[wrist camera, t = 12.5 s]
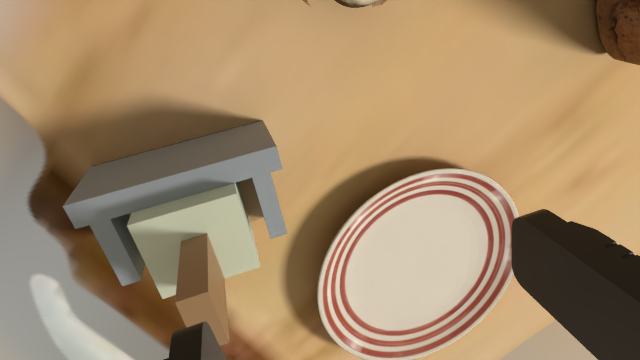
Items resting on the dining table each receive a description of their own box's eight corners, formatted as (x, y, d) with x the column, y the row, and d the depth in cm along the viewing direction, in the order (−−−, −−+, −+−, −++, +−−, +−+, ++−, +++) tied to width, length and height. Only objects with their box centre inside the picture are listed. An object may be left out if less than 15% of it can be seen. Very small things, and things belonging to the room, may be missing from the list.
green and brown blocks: (138, 191, 34) (105, 287, 22) (231, 165, 35) (245, 242, 23) (168, 256, 37) (152, 370, 25) (252, 230, 38) (273, 327, 26)
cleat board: (90, 166, 36) (62, 206, 28) (262, 120, 38) (276, 146, 31) (126, 239, 39) (109, 290, 32) (282, 192, 42) (298, 230, 34)
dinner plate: (476, 115, 45) (495, 123, 42) (526, 274, 57) (544, 288, 54) (267, 243, 44) (272, 260, 41) (365, 375, 57) (374, 395, 54)
